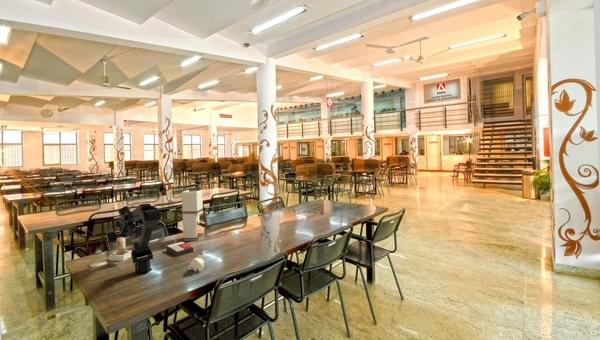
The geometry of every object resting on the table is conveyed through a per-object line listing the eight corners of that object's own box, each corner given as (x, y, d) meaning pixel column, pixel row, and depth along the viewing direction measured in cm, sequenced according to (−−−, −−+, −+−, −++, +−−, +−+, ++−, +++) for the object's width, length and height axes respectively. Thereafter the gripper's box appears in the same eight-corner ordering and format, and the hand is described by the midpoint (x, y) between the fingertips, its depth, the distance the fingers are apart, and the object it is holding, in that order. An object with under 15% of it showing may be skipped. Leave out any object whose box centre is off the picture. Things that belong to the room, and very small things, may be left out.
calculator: (176, 251, 180) (165, 244, 190) (176, 258, 180) (166, 251, 191) (193, 246, 188) (182, 240, 198) (193, 253, 188) (182, 247, 199)
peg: (127, 256, 182) (126, 235, 181) (122, 259, 177) (121, 237, 176) (120, 256, 182) (118, 235, 181) (114, 259, 177) (113, 237, 176)
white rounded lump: (191, 267, 163) (190, 254, 163) (208, 267, 163) (207, 254, 162) (185, 272, 156) (184, 259, 155) (203, 272, 155) (202, 259, 155)
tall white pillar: (198, 240, 212) (196, 191, 210) (183, 240, 212) (181, 192, 210) (203, 235, 223) (202, 189, 221) (189, 236, 223) (187, 190, 221)
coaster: (110, 262, 173) (110, 261, 173) (100, 267, 165) (100, 266, 165) (97, 262, 173) (96, 261, 173) (86, 267, 165) (86, 266, 165)
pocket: (133, 255, 184) (132, 250, 183) (123, 260, 175) (123, 255, 175) (119, 255, 184) (118, 250, 184) (109, 260, 175) (108, 255, 175)
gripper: (141, 212, 179) (135, 227, 187) (105, 218, 165) (100, 234, 173) (147, 228, 174) (140, 242, 182) (111, 235, 160) (105, 250, 168)
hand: (122, 242), depth 177 cm, fingers open, 9 cm apart
